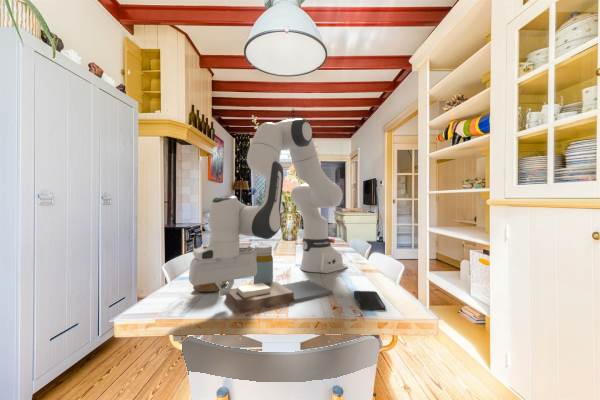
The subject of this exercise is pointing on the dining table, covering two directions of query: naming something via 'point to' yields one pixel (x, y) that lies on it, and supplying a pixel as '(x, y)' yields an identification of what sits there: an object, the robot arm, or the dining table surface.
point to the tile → (253, 290)
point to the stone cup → (208, 287)
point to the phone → (369, 300)
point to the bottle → (264, 264)
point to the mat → (307, 290)
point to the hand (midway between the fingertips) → (224, 294)
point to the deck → (260, 298)
